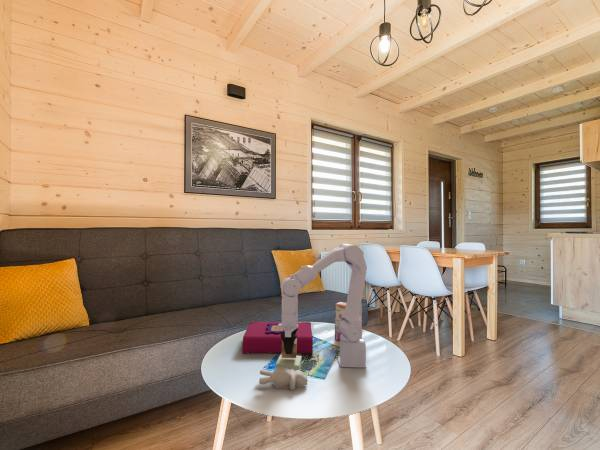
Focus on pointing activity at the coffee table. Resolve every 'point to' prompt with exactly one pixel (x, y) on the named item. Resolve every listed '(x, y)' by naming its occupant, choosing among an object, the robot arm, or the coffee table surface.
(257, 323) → the book
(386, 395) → the coffee table surface
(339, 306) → the candy bar box
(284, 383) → the bunny figurine
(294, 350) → the walnut cube
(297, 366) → the sage block
